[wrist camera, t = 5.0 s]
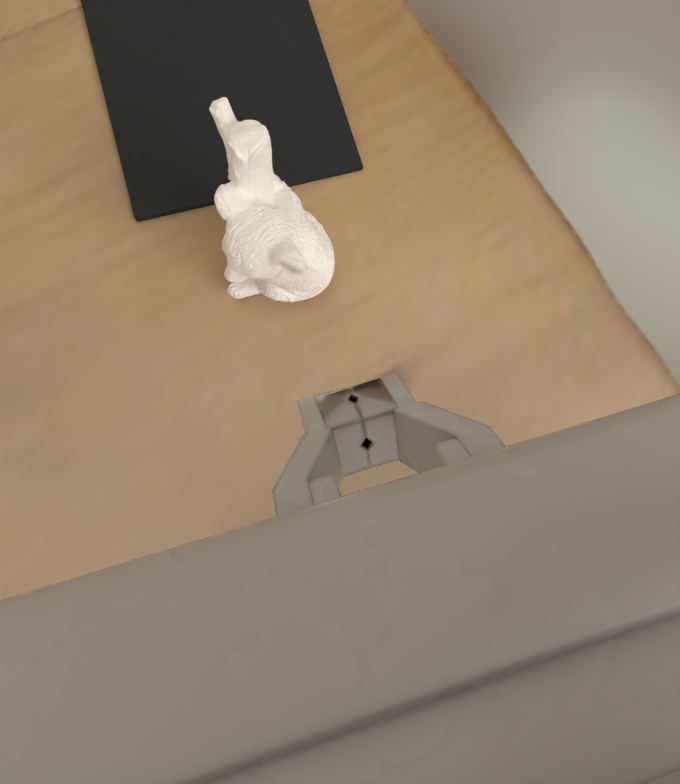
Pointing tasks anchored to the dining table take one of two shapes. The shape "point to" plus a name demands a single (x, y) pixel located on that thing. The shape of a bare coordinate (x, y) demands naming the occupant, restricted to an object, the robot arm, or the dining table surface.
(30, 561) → the dining table surface
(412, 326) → the dining table surface
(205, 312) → the dining table surface
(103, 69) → the mat
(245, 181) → the white animal figurine
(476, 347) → the dining table surface
